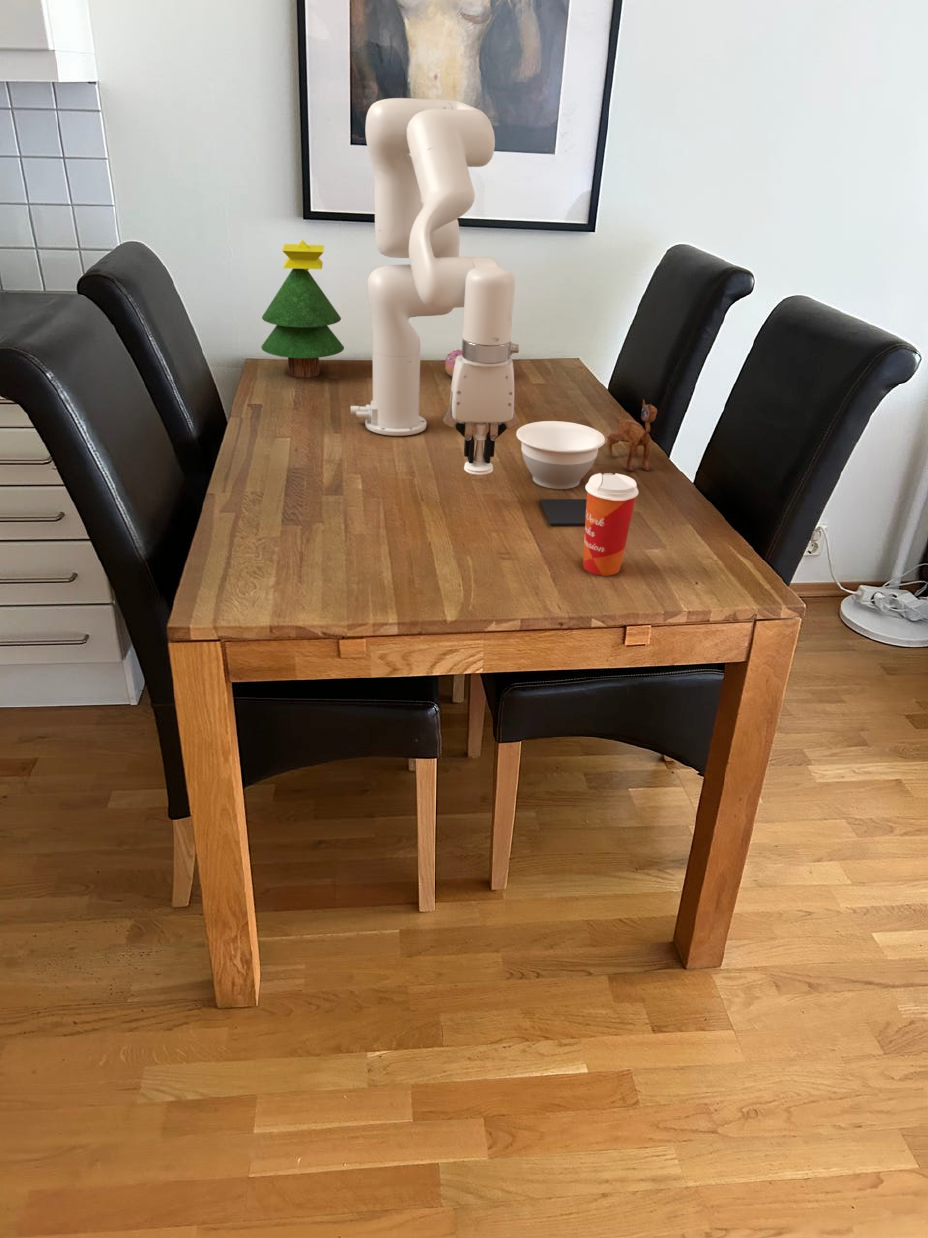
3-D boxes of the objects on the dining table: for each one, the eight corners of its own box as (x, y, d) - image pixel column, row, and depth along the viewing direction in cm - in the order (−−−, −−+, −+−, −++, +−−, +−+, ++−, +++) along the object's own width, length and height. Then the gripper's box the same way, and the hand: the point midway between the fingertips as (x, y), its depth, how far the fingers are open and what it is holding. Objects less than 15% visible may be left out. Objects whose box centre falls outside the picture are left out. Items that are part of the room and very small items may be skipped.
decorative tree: (266, 361, 230) (258, 231, 215) (344, 362, 233) (342, 233, 217) (260, 384, 214) (250, 245, 199) (344, 385, 216) (341, 247, 201)
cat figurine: (592, 443, 190) (600, 376, 183) (622, 441, 191) (631, 375, 185) (628, 476, 175) (638, 404, 168) (660, 474, 177) (672, 403, 170)
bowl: (576, 504, 162) (581, 457, 158) (497, 482, 169) (500, 437, 165) (613, 477, 174) (619, 433, 170) (538, 457, 181) (542, 414, 177)
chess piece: (496, 466, 159) (499, 409, 154) (487, 476, 155) (490, 418, 150) (469, 461, 161) (471, 405, 155) (459, 471, 157) (461, 414, 151)
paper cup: (571, 555, 145) (581, 470, 138) (620, 555, 146) (632, 471, 139) (581, 579, 138) (592, 491, 131) (632, 579, 139) (645, 492, 132)
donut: (503, 385, 222) (505, 364, 220) (443, 382, 222) (444, 361, 219) (502, 368, 235) (503, 348, 232) (445, 365, 234) (446, 345, 232)
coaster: (550, 526, 154) (550, 523, 154) (539, 501, 163) (539, 499, 163) (609, 525, 155) (609, 522, 155) (595, 501, 164) (595, 498, 164)
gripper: (531, 345, 152) (521, 452, 161) (433, 343, 150) (429, 451, 159) (539, 359, 145) (528, 469, 155) (437, 356, 143) (432, 468, 153)
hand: (478, 459), depth 157 cm, fingers closed on chess piece
